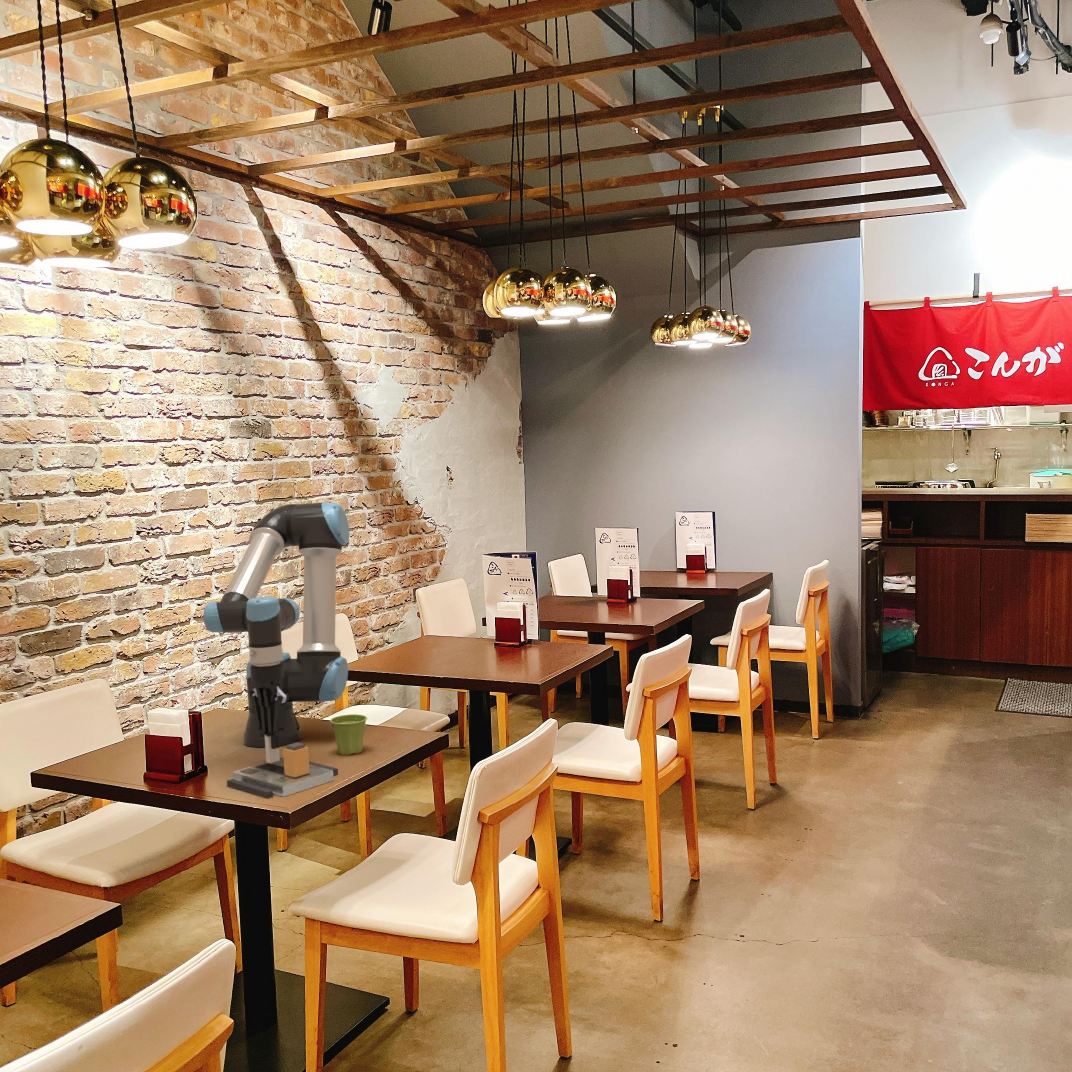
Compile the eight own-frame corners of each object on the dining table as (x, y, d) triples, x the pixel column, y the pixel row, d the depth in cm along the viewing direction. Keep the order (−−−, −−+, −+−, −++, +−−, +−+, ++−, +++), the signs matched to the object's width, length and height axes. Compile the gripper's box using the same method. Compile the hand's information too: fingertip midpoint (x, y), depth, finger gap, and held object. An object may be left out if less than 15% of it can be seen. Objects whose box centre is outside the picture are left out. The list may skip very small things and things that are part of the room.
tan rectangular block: (284, 774, 231) (282, 745, 230) (298, 770, 234) (297, 741, 233) (295, 777, 228) (293, 748, 228) (309, 772, 231) (307, 743, 231)
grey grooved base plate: (224, 785, 233) (224, 779, 233) (297, 763, 249) (297, 758, 249) (267, 798, 222) (267, 792, 222) (340, 774, 238) (340, 769, 238)
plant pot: (374, 747, 261) (373, 714, 260) (359, 757, 252) (357, 723, 251) (342, 746, 263) (340, 713, 263) (325, 756, 254) (323, 722, 254)
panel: (232, 781, 236) (231, 771, 236) (282, 766, 246) (281, 756, 246) (283, 796, 223) (282, 785, 223) (333, 780, 233) (333, 769, 233)
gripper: (236, 663, 237) (243, 761, 239) (269, 668, 229) (276, 769, 230) (263, 657, 243) (270, 753, 244) (296, 662, 234) (302, 761, 236)
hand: (273, 761), depth 237 cm, fingers closed
